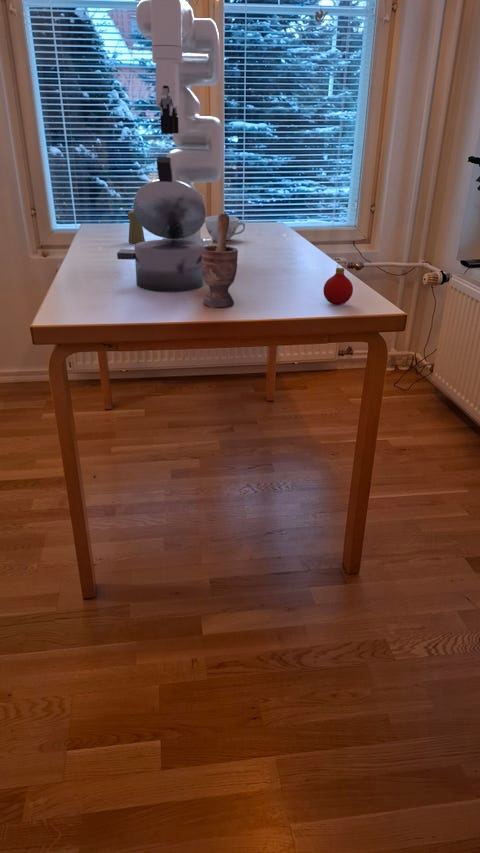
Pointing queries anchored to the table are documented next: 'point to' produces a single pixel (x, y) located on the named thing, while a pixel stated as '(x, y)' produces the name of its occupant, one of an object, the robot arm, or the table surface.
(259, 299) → the table surface
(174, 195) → the lid
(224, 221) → the mortar and pestle
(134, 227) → the olive green tall piece
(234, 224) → the teacup
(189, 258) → the pot
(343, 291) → the christmas ornament
